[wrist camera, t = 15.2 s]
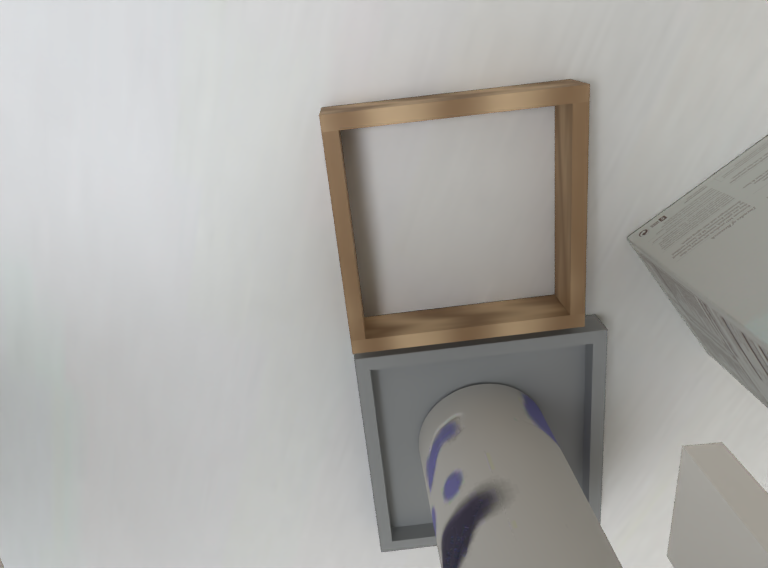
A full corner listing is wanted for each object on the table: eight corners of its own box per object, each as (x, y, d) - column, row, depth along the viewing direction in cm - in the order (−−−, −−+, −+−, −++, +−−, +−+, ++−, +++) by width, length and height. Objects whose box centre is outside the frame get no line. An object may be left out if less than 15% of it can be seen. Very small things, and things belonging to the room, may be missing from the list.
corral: (352, 330, 46) (352, 354, 43) (321, 107, 40) (319, 115, 37) (568, 305, 47) (584, 326, 43) (570, 79, 40) (589, 84, 37)
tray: (379, 529, 54) (381, 552, 51) (353, 342, 47) (354, 359, 44) (589, 504, 54) (600, 525, 52) (594, 314, 47) (607, 329, 45)
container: (422, 382, 47) (476, 614, 29) (553, 382, 48) (688, 607, 29) (414, 489, 51) (458, 755, 32) (535, 487, 52) (646, 746, 33)
